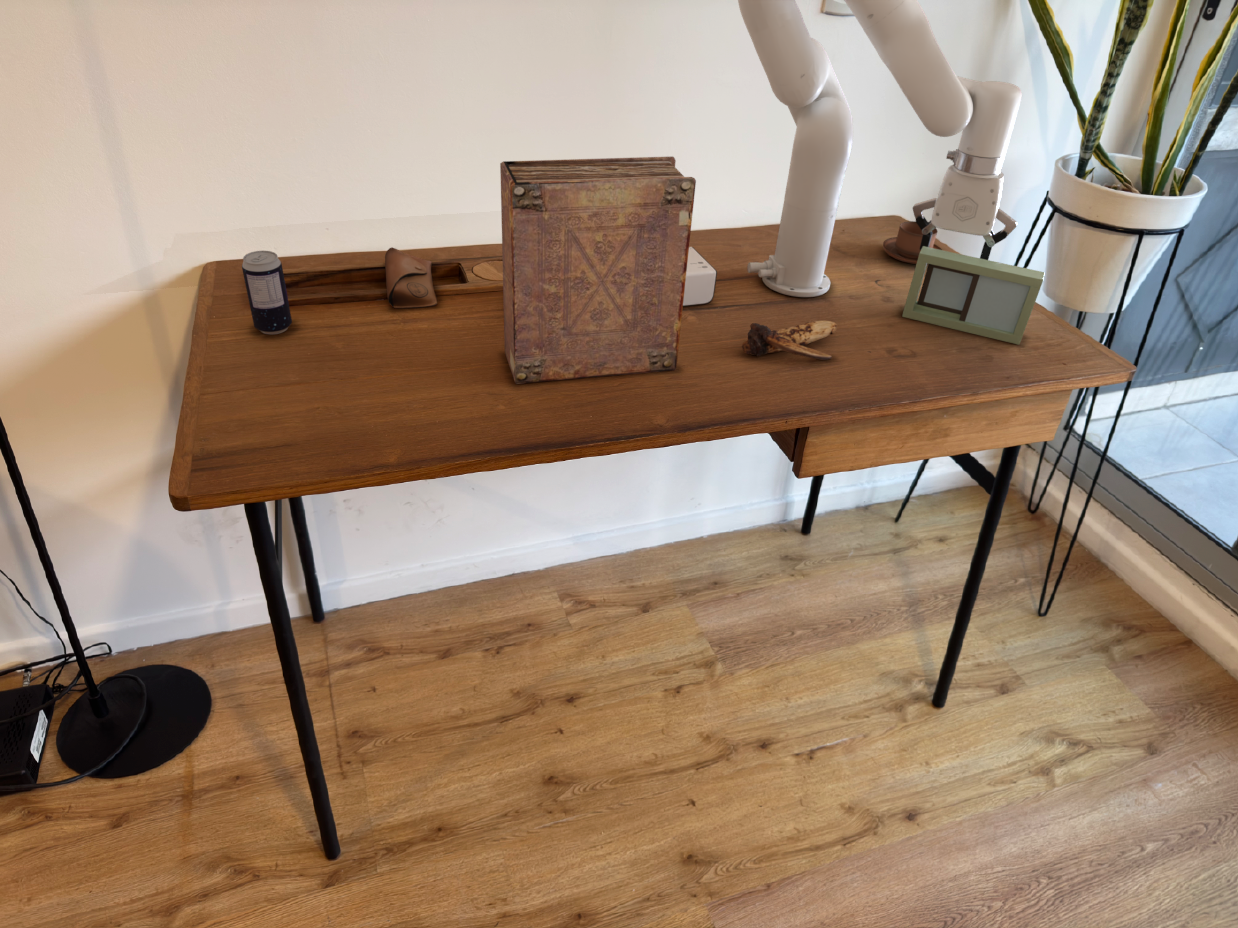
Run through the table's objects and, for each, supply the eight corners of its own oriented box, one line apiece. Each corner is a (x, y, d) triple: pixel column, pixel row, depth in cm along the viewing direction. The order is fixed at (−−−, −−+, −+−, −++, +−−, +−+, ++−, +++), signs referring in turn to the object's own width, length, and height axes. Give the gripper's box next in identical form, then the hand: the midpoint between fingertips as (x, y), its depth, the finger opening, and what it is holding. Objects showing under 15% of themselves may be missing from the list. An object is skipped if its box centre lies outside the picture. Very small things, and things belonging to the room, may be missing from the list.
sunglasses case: (440, 303, 149) (417, 273, 145) (405, 325, 150) (381, 295, 145) (432, 260, 163) (410, 231, 159) (400, 280, 164) (378, 252, 159)
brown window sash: (916, 305, 157) (929, 261, 152) (923, 290, 162) (935, 247, 157) (968, 317, 154) (983, 273, 149) (973, 301, 160) (987, 258, 155)
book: (658, 342, 144) (676, 156, 126) (676, 370, 137) (698, 178, 119) (503, 354, 137) (500, 161, 120) (514, 385, 130) (511, 184, 113)
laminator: (526, 323, 146) (526, 289, 142) (509, 292, 155) (508, 259, 152) (713, 303, 156) (717, 271, 153) (686, 275, 166) (689, 243, 162)
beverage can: (300, 325, 141) (288, 254, 134) (275, 340, 137) (261, 267, 130) (272, 317, 143) (259, 246, 136) (246, 331, 139) (231, 259, 131)
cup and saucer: (878, 242, 185) (885, 214, 181) (936, 249, 184) (944, 220, 180) (883, 265, 175) (891, 236, 171) (945, 272, 174) (954, 243, 170)
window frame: (901, 316, 157) (919, 253, 150) (905, 308, 160) (922, 246, 152) (1019, 345, 151) (1043, 280, 144) (1020, 336, 153) (1044, 272, 146)
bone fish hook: (763, 377, 138) (855, 355, 144) (768, 351, 135) (862, 330, 141) (732, 347, 144) (821, 328, 151) (736, 322, 141) (827, 303, 148)
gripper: (921, 160, 147) (899, 257, 157) (1031, 177, 141) (1000, 277, 151) (929, 148, 152) (906, 243, 162) (1035, 165, 147) (1004, 262, 157)
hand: (952, 259), depth 157 cm, fingers open, 9 cm apart
